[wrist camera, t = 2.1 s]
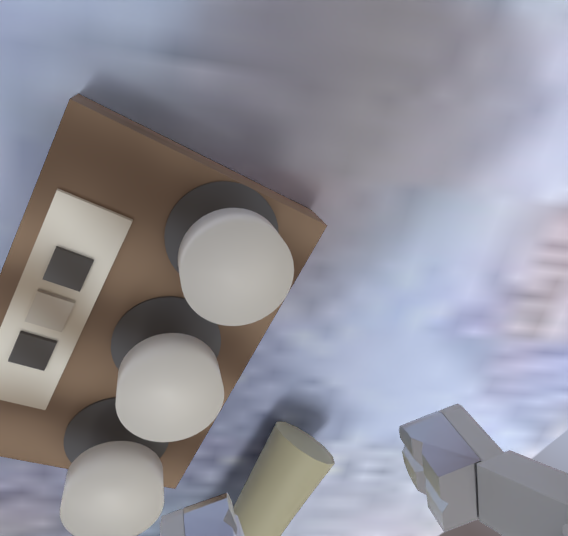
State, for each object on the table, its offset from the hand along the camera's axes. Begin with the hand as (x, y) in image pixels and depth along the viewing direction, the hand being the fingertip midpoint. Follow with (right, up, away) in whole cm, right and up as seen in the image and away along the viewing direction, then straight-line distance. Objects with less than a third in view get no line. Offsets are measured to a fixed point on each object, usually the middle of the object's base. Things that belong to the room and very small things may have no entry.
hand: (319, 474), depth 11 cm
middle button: (-7, -1, +13) cm, 15 cm away
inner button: (-10, -7, +15) cm, 19 cm away
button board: (-10, +2, +18) cm, 20 cm away
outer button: (-3, +5, +12) cm, 13 cm away
